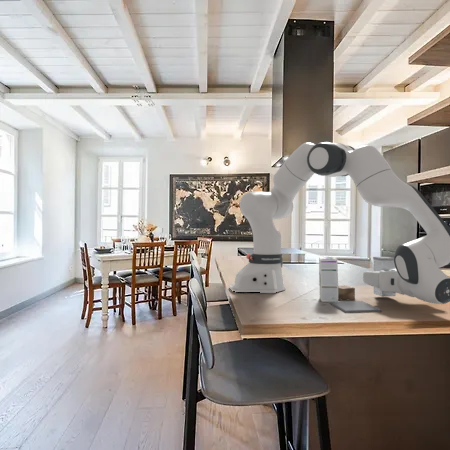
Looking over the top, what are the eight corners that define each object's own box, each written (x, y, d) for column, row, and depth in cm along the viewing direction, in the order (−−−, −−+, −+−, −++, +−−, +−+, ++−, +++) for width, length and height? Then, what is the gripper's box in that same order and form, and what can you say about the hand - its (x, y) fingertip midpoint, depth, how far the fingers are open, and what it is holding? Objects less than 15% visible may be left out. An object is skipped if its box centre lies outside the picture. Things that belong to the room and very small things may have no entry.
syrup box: (338, 302, 107) (338, 258, 107) (320, 302, 108) (320, 258, 108) (336, 298, 112) (336, 257, 112) (318, 298, 113) (318, 256, 113)
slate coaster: (345, 312, 94) (345, 310, 94) (329, 303, 105) (329, 301, 105) (381, 311, 95) (381, 309, 95) (361, 302, 106) (361, 300, 106)
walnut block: (342, 300, 110) (342, 288, 110) (333, 297, 115) (333, 286, 115) (354, 299, 112) (354, 287, 112) (345, 296, 117) (345, 285, 117)
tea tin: (381, 296, 110) (381, 258, 110) (373, 293, 115) (373, 256, 115) (395, 296, 111) (395, 258, 111) (386, 293, 116) (386, 256, 116)
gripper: (438, 270, 102) (409, 264, 116) (377, 271, 100) (354, 265, 114) (438, 290, 102) (409, 282, 116) (377, 291, 100) (354, 283, 114)
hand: (381, 274), depth 115 cm, fingers closed on tea tin, 5 cm apart
